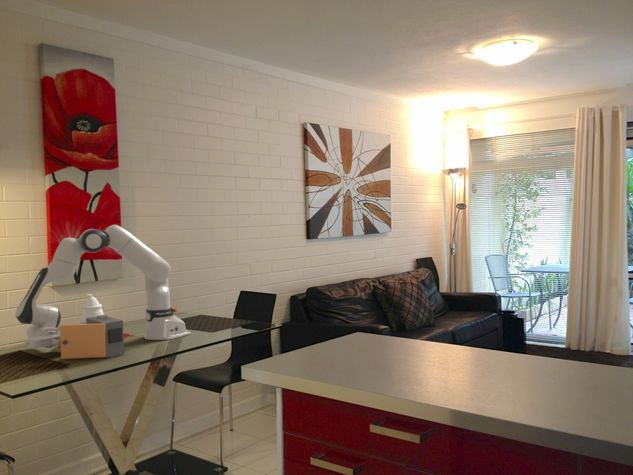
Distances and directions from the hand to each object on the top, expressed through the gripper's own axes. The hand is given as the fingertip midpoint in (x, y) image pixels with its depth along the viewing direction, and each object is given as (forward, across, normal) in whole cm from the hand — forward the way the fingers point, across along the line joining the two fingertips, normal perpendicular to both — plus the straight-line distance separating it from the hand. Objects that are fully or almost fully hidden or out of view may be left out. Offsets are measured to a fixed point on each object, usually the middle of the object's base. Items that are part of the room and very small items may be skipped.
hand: (61, 342), depth 256 cm
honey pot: (-54, +39, +7) cm, 67 cm away
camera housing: (+6, +16, +7) cm, 19 cm away
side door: (+11, +4, +6) cm, 13 cm away
